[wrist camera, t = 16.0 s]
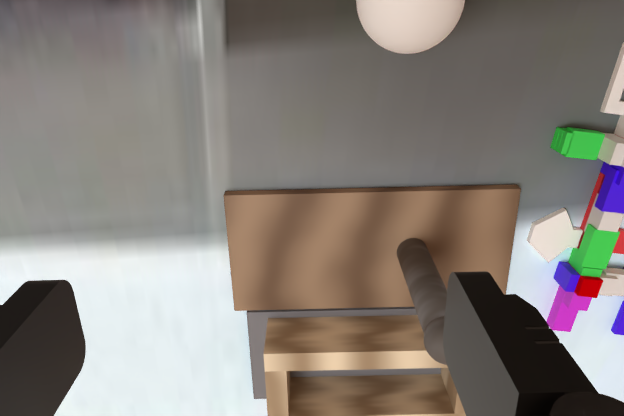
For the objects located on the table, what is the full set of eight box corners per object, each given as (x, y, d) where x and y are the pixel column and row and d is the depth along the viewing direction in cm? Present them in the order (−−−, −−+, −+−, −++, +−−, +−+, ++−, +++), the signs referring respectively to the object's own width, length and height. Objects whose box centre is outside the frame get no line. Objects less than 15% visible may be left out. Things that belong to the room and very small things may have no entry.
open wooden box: (466, 313, 46) (484, 349, 41) (457, 388, 49) (473, 428, 45) (267, 318, 46) (263, 354, 41) (272, 392, 49) (268, 433, 45)
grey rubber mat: (488, 303, 46) (490, 306, 46) (477, 389, 50) (478, 393, 50) (247, 308, 46) (246, 312, 46) (254, 394, 50) (254, 398, 50)
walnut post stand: (516, 184, 42) (613, 272, 29) (500, 298, 46) (578, 421, 33) (225, 191, 42) (186, 282, 29) (236, 304, 46) (206, 430, 33)
